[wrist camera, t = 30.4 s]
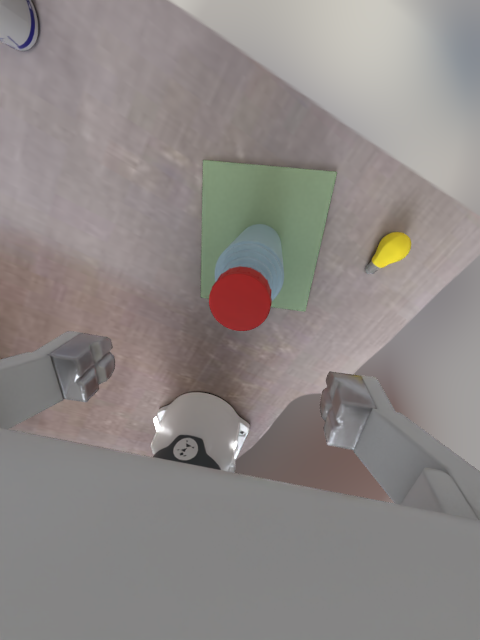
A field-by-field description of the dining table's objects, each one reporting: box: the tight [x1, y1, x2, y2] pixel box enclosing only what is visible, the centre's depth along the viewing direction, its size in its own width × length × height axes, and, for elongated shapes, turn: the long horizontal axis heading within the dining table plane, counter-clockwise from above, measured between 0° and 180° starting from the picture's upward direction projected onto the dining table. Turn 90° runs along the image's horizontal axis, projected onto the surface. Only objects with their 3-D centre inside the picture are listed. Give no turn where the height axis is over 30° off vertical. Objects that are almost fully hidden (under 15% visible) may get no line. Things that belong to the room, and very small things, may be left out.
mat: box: [201, 160, 337, 312], centre depth 34 cm, size 18×16×1 cm
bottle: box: [215, 224, 284, 301], centre depth 25 cm, size 6×6×19 cm
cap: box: [209, 266, 272, 331], centre depth 17 cm, size 4×4×2 cm
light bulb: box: [366, 232, 411, 274], centre depth 31 cm, size 3×6×4 cm, turn 151°
